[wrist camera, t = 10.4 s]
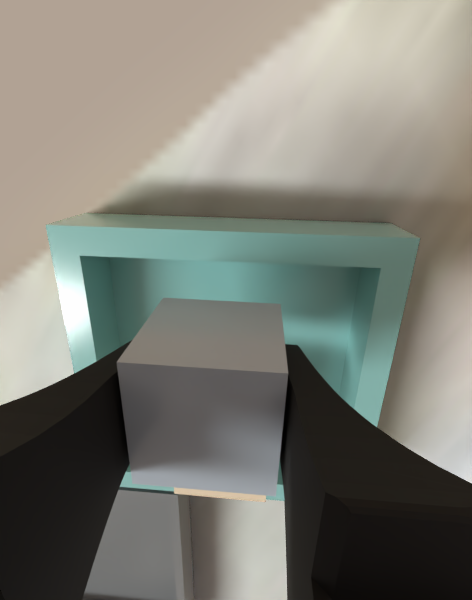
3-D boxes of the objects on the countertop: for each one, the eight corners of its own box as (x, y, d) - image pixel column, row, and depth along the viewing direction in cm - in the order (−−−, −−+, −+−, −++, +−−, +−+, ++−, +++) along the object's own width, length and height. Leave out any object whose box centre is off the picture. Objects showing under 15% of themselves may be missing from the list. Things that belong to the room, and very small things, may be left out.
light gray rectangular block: (280, 303, 11) (287, 373, 8) (272, 400, 13) (275, 496, 9) (163, 297, 12) (116, 362, 8) (169, 392, 13) (132, 483, 10)
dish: (390, 222, 14) (420, 238, 12) (345, 457, 19) (358, 507, 17) (85, 212, 15) (45, 224, 12) (118, 440, 20) (95, 484, 17)
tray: (187, 456, 20) (177, 495, 18) (194, 603, 26) (187, 646, 24) (-80, 435, 21) (-122, 468, 19) (-17, 580, 27) (-43, 619, 25)
